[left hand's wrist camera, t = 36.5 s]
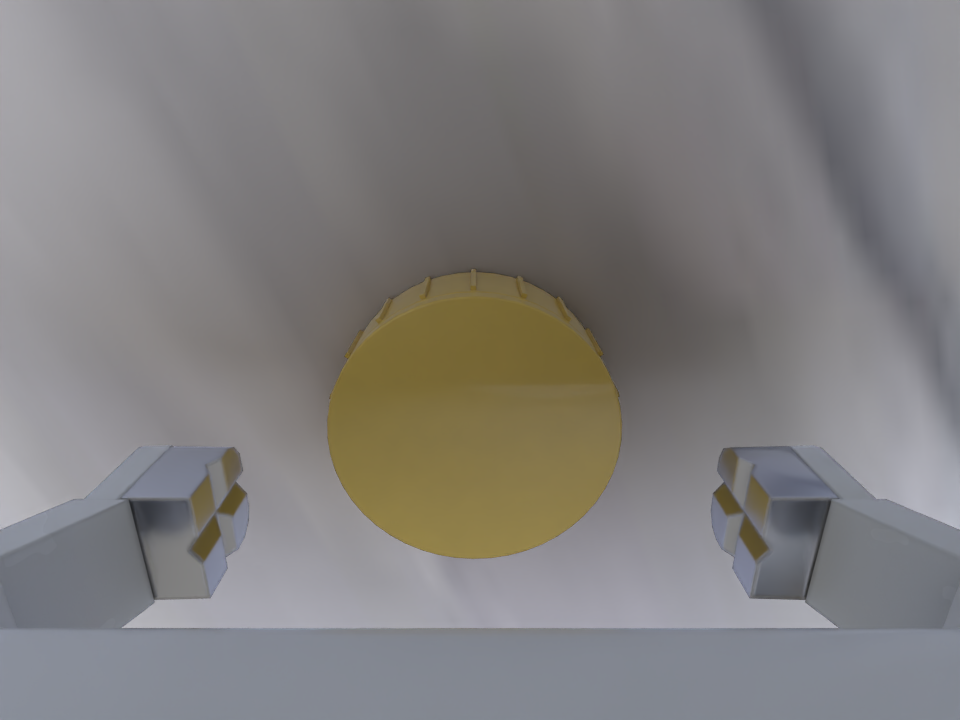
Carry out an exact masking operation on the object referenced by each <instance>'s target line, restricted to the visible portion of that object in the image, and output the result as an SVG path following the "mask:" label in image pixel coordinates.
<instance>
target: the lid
mask: <svg viewBox="0 0 960 720" xmlns="http://www.w3.org/2000/svg"><path fill="white" fill-rule="evenodd" d="M602 355H603V353H602V351H601V349H600V347H599V345H598V344H597V342H596V340H595V338H594V336H593V335H592V333H591V331H590V330H589V328H587V329H586V330H585V329H584V327H583V326H582V324H581V323H580V322H579V321H578V319H577V318H576V317H575V316H574V315H573V313H572V312H571V311H570V310H569V309H567V308H566V306H565V304H564V302H563V300H562V299H561V298H560V297H559V296H558V297H557V298H554V297H553V296H551V295H550V294H548V293H547V292H546V291H544V290H542V289H540V288H538V287H536V286H534V285H532V284H530V283H528V282H525V281H523V278H522V277H520V276H517V279H516V278H513V277H509V276H505V275H500V274H495V273H483V272H476V269H471V272H467V273H456V274H450V275H445V276H440V277H437V278H434V279H431V278H430V276H429V277H426V278H425V280H424V282H422V283H420V284H418V285H416V286H414V287H412V288H409V289H408V290H406V291H404V292H403V293H401V294H400V295H398V296H397V297H395V298H394V299H392V300H391V299H390V298H388V299H387V300H386V301H385V303H384V305H383V307H382V309H381V310H380V311H379V312H378V313H377V314H376V316H375V317H374V318H373V319H372V320H371V321H370V322H369V324H368V326H367V327H366V329H365V330H364V332H363V331H361V330H360V331H359V332H358V334H357V336H356V337H355V339H354V341H353V343H352V344H351V346H350V348H349V349H348V351H347V353H346V355H345V357H346V358H348V360H347V361H346V363H345V365H344V367H343V368H342V370H341V373H340V375H339V377H338V379H337V381H336V383H335V386H334V389H333V391H332V392H331V394H330V398H329V399H330V403H329V410H328V418H327V438H328V444H329V450H330V455H331V458H332V462H333V465H334V468H335V471H336V473H337V475H338V477H339V479H340V481H341V484H342V486H343V487H344V489H345V490H346V492H347V493H348V495H349V497H350V498H351V500H352V501H353V502H354V503H355V505H356V506H357V507H358V508H359V509H360V510H361V512H362V513H363V514H364V515H365V516H367V517H368V518H369V519H370V520H371V521H372V522H373V523H374V524H375V525H377V526H378V527H379V528H381V529H382V530H384V531H385V532H386V533H388V534H389V535H391V536H393V537H395V538H396V539H398V540H400V541H402V542H404V543H406V544H408V545H411V546H413V547H415V548H418V549H420V550H423V551H427V552H430V553H434V554H437V555H443V556H449V557H454V558H469V559H480V558H494V557H501V556H507V555H511V554H515V553H519V552H523V551H526V550H529V549H531V548H534V547H536V546H539V545H542V544H544V543H545V542H547V541H549V540H551V539H553V538H555V537H557V536H558V535H560V534H561V533H563V532H564V531H566V530H567V529H569V528H570V527H572V526H573V525H574V524H575V523H576V522H577V521H578V520H580V519H581V518H582V517H583V516H584V515H585V514H586V513H587V512H588V511H589V509H590V508H591V507H592V506H593V505H594V504H595V503H596V501H597V500H598V498H599V497H600V495H601V494H602V492H603V491H604V490H605V488H606V486H607V484H608V482H609V480H610V478H611V476H612V474H613V471H614V468H615V465H616V462H617V459H618V456H619V451H620V445H621V439H622V418H621V409H620V403H619V399H618V397H619V392H618V390H617V388H616V387H615V385H614V383H613V381H612V379H611V377H610V374H609V372H608V370H607V368H606V367H605V365H604V363H603V361H602V359H601V357H600V356H602Z"/></svg>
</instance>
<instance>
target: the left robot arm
mask: <svg viewBox="0 0 960 720" xmlns="http://www.w3.org/2000/svg"><path fill="white" fill-rule="evenodd" d="M242 471H243V468H242V463H241V458H240V453H239V452H238V451H237V450H236V449H235V448H234V447H196V446H175V447H174V446H145V447H139V448H138V449H137V450H136V451H134V452H133V453H132V454H131V455H130V456H129V457H128V458H127V459H126V460H125V461H124V462H123V463H122V464H121V465H120V466H119V467H117V468H116V469H115V470H114V471H113V472H112V473H111V474H110V475H109V476H108V477H107V478H106V479H105V480H104V481H103V482H102V483H100V484H99V485H98V486H97V487H96V488H95V489H94V490H93V491H92V492H91V493H90V494H89V495H88V496H87V497H86V498H85V499H73V500H71V501H68V502H66V503H63V504H61V505H59V506H56V507H54V508H51V509H49V510H47V511H44V512H42V513H40V514H37V515H35V516H32V517H30V518H28V519H25V520H23V521H20V522H18V523H16V524H13V525H11V526H8V527H6V528H4V529H1V530H0V720H960V530H959V529H956V528H954V527H951V526H949V525H947V524H944V523H942V522H940V521H937V520H935V519H932V518H930V517H928V516H925V515H923V514H920V513H918V512H916V511H913V510H911V509H908V508H906V507H904V506H901V505H899V504H897V503H894V502H892V501H889V500H887V499H876V498H874V497H873V496H872V495H871V494H870V493H869V492H868V491H867V490H866V489H865V488H864V487H863V486H862V485H861V484H860V483H859V482H857V481H856V480H855V479H854V478H853V477H852V476H851V475H850V474H849V473H848V472H847V471H846V470H845V469H844V468H843V467H842V466H841V465H839V464H838V463H837V462H836V461H835V460H834V459H833V458H832V457H831V456H830V455H829V454H828V453H827V452H826V451H825V450H824V449H823V448H821V447H817V446H814V445H811V446H775V447H734V448H724V449H723V451H722V453H721V455H720V457H719V462H718V467H717V471H718V473H719V475H720V476H721V478H722V479H723V481H724V483H723V484H722V485H721V486H720V487H719V488H718V489H717V490H716V491H715V492H714V493H713V498H712V505H711V518H712V528H713V531H714V534H715V537H716V540H717V541H718V543H719V545H720V547H721V549H722V550H724V551H725V552H727V553H729V554H730V555H732V556H733V557H734V562H733V567H732V568H733V570H734V572H735V574H736V575H737V577H738V579H739V581H740V582H741V584H742V586H743V588H744V589H745V591H746V593H747V594H748V596H749V598H757V599H793V600H806V601H805V602H806V603H807V604H808V605H810V606H811V607H812V608H813V609H815V610H816V611H817V612H819V613H820V614H821V615H823V616H824V617H825V618H827V619H828V620H829V621H831V622H832V623H833V624H835V625H836V626H837V627H838V628H122V627H123V626H124V625H126V624H127V623H128V622H130V621H131V620H132V619H134V618H135V617H136V616H138V615H139V614H140V613H141V612H143V611H144V610H145V609H147V608H148V607H149V606H151V605H152V604H153V603H154V602H155V601H154V600H166V599H202V598H211V596H212V595H213V593H214V591H215V589H216V588H217V586H218V584H219V582H220V581H221V579H222V577H223V575H224V574H225V572H226V570H227V568H228V567H227V562H226V557H227V556H228V555H230V554H231V553H233V552H235V551H236V550H238V549H239V547H240V545H241V543H242V541H243V539H244V538H245V534H246V530H247V526H248V521H249V503H248V497H247V493H246V492H245V491H244V490H243V489H242V488H241V487H240V486H239V485H238V484H237V483H236V481H237V479H238V478H239V476H240V475H241V473H242Z"/></svg>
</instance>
